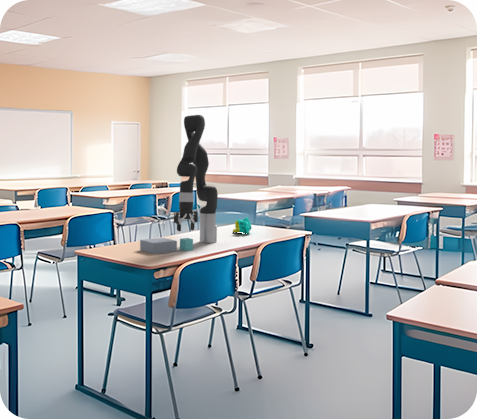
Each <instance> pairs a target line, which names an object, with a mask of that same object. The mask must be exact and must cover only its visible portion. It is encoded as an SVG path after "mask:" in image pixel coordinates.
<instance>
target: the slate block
mask: <svg viewBox="0 0 477 419" xmlns="http://www.w3.org/2000/svg"><path fill="white" fill-rule="evenodd" d="M139 245H140V246H139V250H140V251H141V252H145V253H149V254H151V255H152V254H153V255H158V254H166V253H168V254H169V253H173V252H178V241H177V240H175V239H171V238H165V237H157V238H155V237H154V238H145V239H144V238H143V239H140V240H139Z"/></svg>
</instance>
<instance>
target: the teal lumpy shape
mask: <svg viewBox="0 0 477 419" xmlns="http://www.w3.org/2000/svg"><path fill="white" fill-rule="evenodd" d="M234 223H235V225H234V229H232V232H243V233H248V234H249V233H250V231H251V230H252V223H251V221H250V219H249V217H244V218H243V219H236V220H235V222H234Z"/></svg>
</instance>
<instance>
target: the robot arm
mask: <svg viewBox="0 0 477 419" xmlns="http://www.w3.org/2000/svg"><path fill="white" fill-rule="evenodd" d="M205 121H206V120H205V118H204V116H203V114H194V115H192V114H191V115H186V116H184V119H183V126H184V130H185V134H186V137H187V142H186V144H185V145H184V148H183V153H182V157H181V160H180V161H179V162H178V164H177V167H176V174H177V175H178V176H179V177H183V178H184V177H188V179H187V180H183V181H182V180H181V181H180V183H179V196H178V197H179V198H178V199H179V200H178V203H179V204H178V209H179V211H174V213H173V223H174V224H176V231H177V232H181V231H182V222H183V221H184V220H188V221H189V222H190V226H189V227H190V228H189V229H190V231H194V230H195V224H196V223H198V221H199V243H202V244H210V243H211V244H212V243H216V242H217V240H218V239H217V236H218V232H217V231H218V226H217V225H216V224H217V223H216V221H217V220H216V219H217V218H216V217H217V216H216V214H217V212H216V210H217V207H218V196H219V195H218V190H217V187H215V186H212V185H207V184H206V174H207V172H208V168H209V163H210V162H209V158H208V153H207V151H206V148H204V146H202V144H200V141H201V140H202V136H203V133H204V131H205V127H206V122H205ZM194 182H195V183H194ZM194 184H195V186H196V193H197V198H198V200H199V201H201V202H206V204H205V205H204V206H203V207H201V208H200V209H199V213H198V211H197V210H194ZM198 214H199V218H198Z"/></svg>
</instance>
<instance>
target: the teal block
mask: <svg viewBox="0 0 477 419" xmlns="http://www.w3.org/2000/svg"><path fill="white" fill-rule="evenodd" d="M179 250H181V251H185V252H187V251H188V252H189V251H193V250H194V239H193V238H189V237H185V238H180V239H179Z"/></svg>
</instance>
